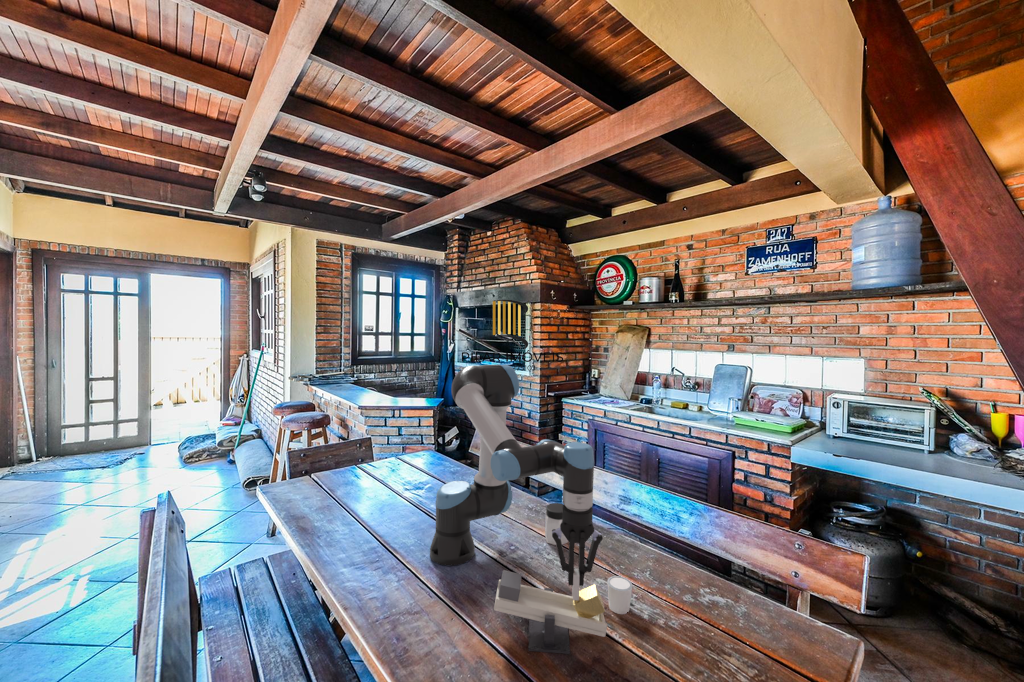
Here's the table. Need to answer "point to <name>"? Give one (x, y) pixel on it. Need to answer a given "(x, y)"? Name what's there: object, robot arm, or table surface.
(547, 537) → the jar
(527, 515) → the table surface
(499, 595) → the beam
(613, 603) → the shot glass
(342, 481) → the table surface
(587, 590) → the rider
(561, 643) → the stand
